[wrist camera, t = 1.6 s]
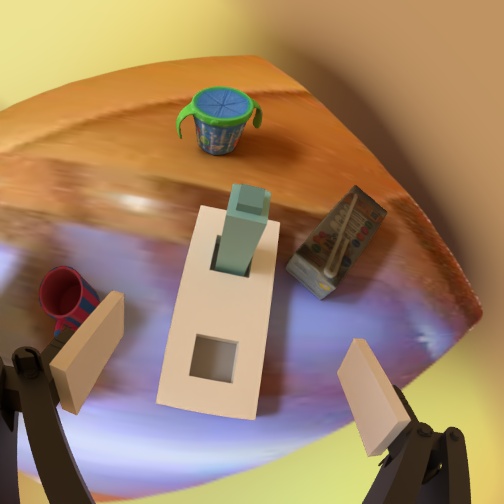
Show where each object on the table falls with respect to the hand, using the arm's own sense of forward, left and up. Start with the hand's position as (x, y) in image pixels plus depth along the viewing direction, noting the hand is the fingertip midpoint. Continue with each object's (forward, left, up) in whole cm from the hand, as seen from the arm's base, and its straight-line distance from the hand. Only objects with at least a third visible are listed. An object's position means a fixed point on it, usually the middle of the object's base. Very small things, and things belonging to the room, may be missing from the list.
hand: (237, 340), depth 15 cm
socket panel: (0, +7, -23) cm, 24 cm away
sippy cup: (-7, +38, -23) cm, 45 cm away
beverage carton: (+16, +21, -23) cm, 36 cm away
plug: (0, +14, -22) cm, 27 cm away
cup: (-20, +1, -23) cm, 31 cm away
